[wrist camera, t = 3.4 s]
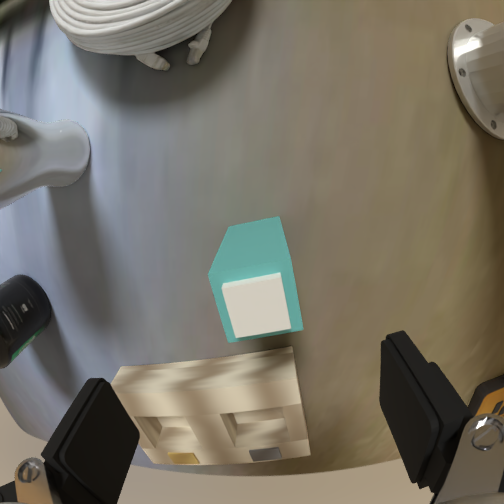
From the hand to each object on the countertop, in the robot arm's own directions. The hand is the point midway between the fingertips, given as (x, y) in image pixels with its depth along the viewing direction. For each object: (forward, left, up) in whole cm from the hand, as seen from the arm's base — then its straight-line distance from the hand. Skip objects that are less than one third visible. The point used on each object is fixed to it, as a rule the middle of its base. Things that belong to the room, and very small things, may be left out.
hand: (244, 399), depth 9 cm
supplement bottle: (+26, +1, -17) cm, 31 cm away
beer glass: (+15, -12, -17) cm, 25 cm away
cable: (+3, -26, -17) cm, 31 cm away
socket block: (+8, +16, -16) cm, 24 cm away
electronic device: (-32, +29, -17) cm, 47 cm away
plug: (0, 0, -16) cm, 16 cm away
